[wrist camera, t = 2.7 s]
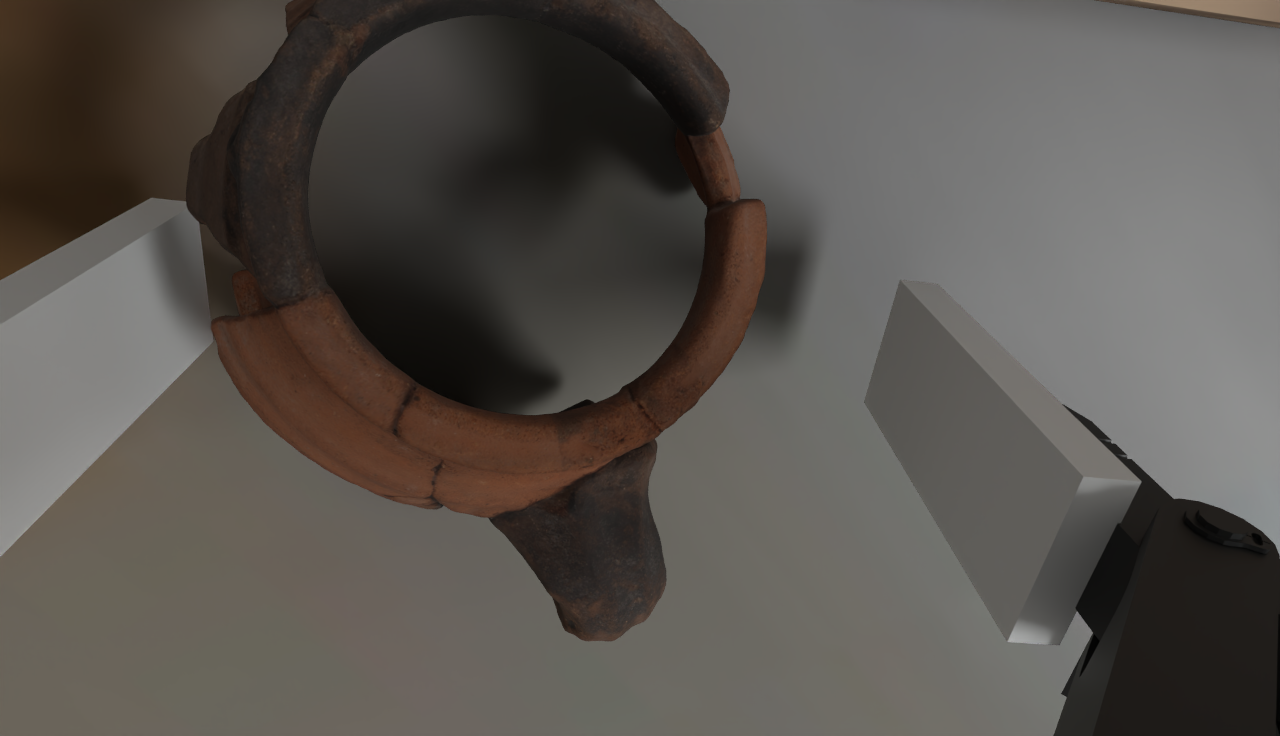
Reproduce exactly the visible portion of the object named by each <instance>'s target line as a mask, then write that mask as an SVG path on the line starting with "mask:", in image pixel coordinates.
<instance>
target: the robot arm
mask: <svg viewBox="0 0 1280 736" xmlns="http://www.w3.org/2000/svg"><path fill="white" fill-rule="evenodd" d="M212 342H213V333H212V331H211V317H210V308H209V300H208V292H207V284H206V276H205V267H204V259H203V251H202V243H201V235H200V227H199V222H198V221H197V220H196V219H195V218H194V217H193V216H192V215H191V214H190V212H189V211H188V209H187V205H186V201H177V200H168V199H158V198H150V199H148V200H146V201H145V202H143V203H141V204H139V205H137V206H135V207H134V208H132V209H130V210H128V211H126V212H124V213H123V214H121V215H119V216H117V217H115V218H113V219H112V220H110V221H108V222H106V223H104V224H102V225H101V226H99V227H97V228H95V229H93V230H92V231H90V232H88V233H86V234H84V235H82V236H81V237H79V238H77V239H75V240H73V241H71V242H70V243H68V244H66V245H64V246H62V247H60V248H59V249H57V250H55V251H53V252H51V253H49V254H48V255H46V256H44V257H42V258H40V259H38V260H37V261H35V262H33V263H31V264H29V265H28V266H26V267H24V268H22V269H20V270H18V271H17V272H15V273H13V274H11V275H9V276H7V277H6V278H4V279H2V280H0V557H1V556H2V555H3V554H4V553H5V552H6V551H7V550H8V549H9V548H10V547H11V546H12V545H13V543H14V542H15V541H16V540H17V539H18V538H19V537H20V536H21V535H22V534H23V533H24V532H25V531H26V530H27V529H28V528H29V527H30V526H31V525H32V524H33V523H34V522H35V521H36V520H37V519H38V518H39V517H40V516H41V515H42V514H43V513H44V512H45V511H46V510H47V509H48V508H49V507H50V506H51V505H52V504H53V503H54V502H55V501H56V500H57V499H58V498H59V497H60V496H61V495H62V494H63V493H64V492H65V491H66V490H67V489H68V488H69V487H70V486H71V485H72V484H73V483H74V482H75V481H76V480H77V479H78V478H79V477H80V476H81V475H82V474H83V473H84V472H85V471H86V470H87V469H88V468H89V467H90V466H91V465H92V464H93V463H94V462H95V461H96V460H97V459H98V458H99V457H100V456H101V455H102V454H103V453H104V452H105V451H106V450H107V449H108V448H109V447H110V446H111V444H112V443H113V442H114V441H115V440H116V439H117V438H118V437H119V436H120V435H121V434H122V433H123V432H124V431H125V430H126V429H127V428H128V427H129V426H130V425H131V424H132V423H133V422H134V421H135V420H136V419H137V418H138V417H139V416H140V415H141V414H142V413H143V412H144V411H145V410H146V409H147V408H148V407H149V406H150V405H151V404H152V403H153V402H154V401H155V400H156V399H157V398H158V397H159V396H160V395H161V394H162V393H163V392H164V391H165V390H166V389H167V388H168V387H169V386H170V385H171V384H172V383H173V382H174V381H175V380H176V379H177V378H178V377H179V376H180V375H181V374H182V373H183V372H184V371H185V370H186V369H187V368H188V367H189V366H190V365H191V364H192V363H193V362H194V361H195V360H196V359H197V358H198V357H199V356H200V355H201V354H202V353H203V352H204V351H205V350H206V349H207V348H208V346H209V345H210V344H211V343H212ZM864 403H865V404H866V406H867V408H868V409H869V411H870V413H871V414H872V416H873V418H874V419H875V421H876V423H877V424H878V426H879V428H880V430H881V431H882V433H883V435H884V436H885V438H886V440H887V441H888V443H889V445H890V446H891V448H892V450H893V451H894V453H895V455H896V456H897V458H898V460H899V461H900V463H901V465H902V466H903V468H904V470H905V471H906V473H907V475H908V476H909V478H910V480H911V481H912V483H913V485H914V486H915V488H916V490H917V492H918V493H919V495H920V497H921V498H922V500H923V502H924V503H925V505H926V507H927V508H928V510H929V512H930V513H931V515H932V517H933V518H934V520H935V522H936V523H937V525H938V527H939V528H940V530H941V532H942V533H943V535H944V537H945V538H946V540H947V542H948V543H949V545H950V547H951V549H952V550H953V552H954V554H955V555H956V557H957V559H958V560H959V562H960V564H961V565H962V567H963V569H964V570H965V572H966V574H967V575H968V577H969V579H970V580H971V582H972V584H973V585H974V587H975V589H976V590H977V592H978V594H979V595H980V597H981V599H982V600H983V602H984V604H985V606H986V607H987V609H988V611H989V612H990V614H991V616H992V617H993V619H994V621H995V622H996V624H997V626H998V627H999V629H1000V631H1001V632H1002V634H1003V636H1004V637H1005V639H1006V641H1007V642H1015V643H1031V644H1047V645H1060V643H1061V641H1062V639H1063V637H1064V635H1065V633H1066V631H1067V629H1068V628H1069V626H1070V624H1071V622H1072V620H1073V618H1074V616H1075V614H1076V612H1077V611H1078V613H1079V614H1080V615H1081V617H1082V618H1083V619H1084V621H1085V622H1086V624H1087V625H1088V626H1089V628H1090V629H1091V630H1092V632H1093V634H1092V636H1091V638H1090V640H1089V642H1088V644H1087V645H1086V647H1085V649H1084V651H1083V653H1082V655H1081V657H1080V659H1079V661H1078V663H1077V665H1076V666H1075V668H1074V670H1073V672H1072V674H1071V676H1070V678H1069V680H1068V682H1067V684H1066V686H1065V688H1064V689H1063V691H1062V693H1061V694H1062V695H1064V696H1066V697H1067V699H1066V702H1065V704H1064V707H1063V710H1062V713H1061V716H1060V719H1059V722H1058V724H1057V727H1056V730H1055V733H1054V736H1280V559H1279V558H1280V556H1279V553H1278V551H1277V548H1276V546H1275V544H1274V543H1273V542H1272V541H1271V540H1270V539H1269V538H1268V537H1267V536H1266V535H1265V534H1264V533H1263V532H1262V531H1260V530H1259V529H1257V528H1256V527H1254V526H1253V525H1251V524H1250V523H1248V522H1247V521H1245V520H1244V519H1242V518H1240V517H1238V516H1236V515H1234V514H1231V513H1229V512H1227V511H1225V510H1223V509H1221V508H1218V507H1215V506H1212V505H1209V504H1205V503H1202V502H1199V501H1193V500H1186V499H1173V498H1172V497H1171V496H1170V495H1169V494H1168V493H1167V492H1166V491H1165V490H1164V489H1162V488H1161V487H1160V486H1159V485H1158V484H1157V483H1156V482H1155V481H1154V480H1153V479H1152V478H1151V477H1150V476H1149V475H1148V474H1147V473H1146V472H1144V471H1143V470H1142V469H1141V468H1140V467H1139V466H1138V465H1137V464H1136V463H1135V462H1134V461H1133V460H1132V459H1127V455H1126V454H1125V453H1124V452H1123V451H1122V450H1121V449H1120V448H1119V447H1118V446H1117V445H1116V444H1112V443H1111V439H1110V438H1108V437H1107V436H1106V435H1105V434H1104V433H1103V432H1102V431H1101V430H1100V429H1099V428H1098V427H1097V426H1096V425H1095V424H1094V423H1093V422H1092V421H1090V420H1088V419H1087V418H1085V417H1083V416H1082V415H1080V414H1078V413H1077V412H1075V411H1073V410H1072V409H1070V408H1068V407H1067V406H1065V405H1063V404H1061V403H1060V402H1059V401H1058V400H1057V399H1056V398H1055V397H1054V396H1053V395H1052V394H1051V393H1050V392H1049V391H1048V390H1047V389H1046V388H1044V387H1043V386H1042V385H1041V384H1040V383H1039V382H1038V381H1037V380H1036V379H1035V378H1034V377H1033V376H1032V375H1031V374H1030V373H1029V372H1028V371H1027V370H1026V369H1025V368H1024V367H1023V366H1022V365H1021V364H1020V363H1019V362H1018V361H1017V360H1016V359H1015V358H1014V357H1012V356H1011V355H1010V354H1009V353H1008V352H1007V351H1006V350H1005V349H1004V348H1003V347H1002V346H1001V345H1000V344H999V343H998V342H997V341H996V340H995V339H994V338H993V337H992V336H991V335H990V334H989V333H988V332H987V331H986V330H985V329H984V328H983V327H981V326H980V325H979V324H978V323H977V322H976V321H975V320H974V319H973V318H972V317H971V316H970V315H969V314H968V313H967V312H966V311H965V310H964V309H963V308H962V307H961V306H960V305H959V304H958V303H957V302H956V301H955V300H954V299H953V298H952V297H951V296H949V295H948V294H947V293H946V292H945V291H944V290H943V289H942V288H941V287H940V286H939V285H938V284H934V283H925V282H916V281H907V280H900V282H899V285H898V289H897V292H896V295H895V299H894V302H893V306H892V309H891V312H890V316H889V319H888V322H887V326H886V329H885V333H884V336H883V339H882V343H881V346H880V350H879V353H878V356H877V360H876V363H875V366H874V370H873V373H872V377H871V380H870V383H869V387H868V390H867V393H866V397H865V400H864Z"/></svg>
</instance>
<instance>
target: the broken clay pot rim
mask: <svg viewBox="0 0 1280 736" xmlns="http://www.w3.org/2000/svg"><path fill="white" fill-rule="evenodd" d="M285 10H286V27H287V32H288V36H287V38H286V40H285V42H284V43H283V45H282V46H281V47H280V48H279V50H278V52H277V53H276V55H275V57H274V59H273V61H272V63H271V64H270V65H269V67H268V68H267V69H266V70H265V71H264V72H263V74H262V75H261V76H260V77H259V78H258V79H257V80H255V81H253V82H250V83H249V84H248V85H247V86H246V87H245V89H244V90H242V91H241V92H239V93H237V94H235V95H234V96H233V97H232V98H230V99H229V100H228V101H227V103H226V104H225V106H224V107H223V109H222V111H221V112H220V114H219V116H218V119H217V122H216V125H215V127H214V129H213V131H212V133H211V134H209V135H208V136H206V137H204V138H203V139H202V140H200V141H199V142H198V143H197V144H196V146H195V147H194V148H193V150H192V152H191V157H190V165H189V172H188V180H187V189H186V205H187V209H188V211H189V212H190V214H191V215H192V216H193V217H194V218H195V219H196V220H197V221H198V222H199V223H202V224H206V225H207V226H208V227H209V229H210V231H211V233H212V234H213V236H214V237H215V239H216V240H217V241H218V242H219V243H220V245H221V246H222V247H223V248H224V249H226V250H227V251H228V252H230V253H231V254H232V255H234V256H235V257H237V258H238V259H239V260H240V262H241V263H242V264H243V265H244V266H245V267H246V269H247V270H242V271H238V272H236V273H234V275H233V277H232V285H233V290H234V296H235V299H236V303H237V308H238V311H239V315H240V316H226V315H225V316H221V317H217V318H215V319H213V321H212V322H211V331H212V333H213V335H214V337H215V340H216V342H217V345H218V354H219V357H220V360H221V362H222V364H223V366H224V367H225V369H226V371H227V372H228V374H229V376H230V377H231V379H232V381H233V383H234V385H235V386H236V388H237V389H238V391H239V392H240V394H241V395H242V397H243V398H244V399H245V400H246V401H247V402H248V404H249V405H250V406H251V408H252V409H253V410H254V411H255V412H256V413H257V415H258V416H259V417H260V418H261V419H262V420H263V422H264V423H265V424H266V425H268V426H269V427H270V428H271V429H272V430H273V431H274V432H275V433H277V434H278V435H279V436H280V437H281V438H283V439H284V440H285V441H287V442H288V443H289V444H290V445H292V446H293V447H294V448H295V449H297V450H298V451H299V452H300V453H302V454H303V455H305V456H306V457H307V458H309V459H310V460H312V461H314V462H316V463H317V464H318V465H320V466H321V467H323V468H324V469H326V470H328V471H329V472H331V473H333V474H335V475H337V476H339V477H341V478H342V479H344V480H346V481H348V482H350V483H353V484H356V485H358V486H360V487H362V488H365V489H367V490H369V491H371V492H373V493H375V494H377V495H379V496H382V497H385V498H387V499H390V500H393V501H396V502H399V503H403V504H409V505H413V506H417V507H421V508H425V509H439V508H441V507H443V505H444V506H446V507H447V508H449V509H450V510H452V511H454V512H459V513H466V514H471V515H474V516H478V517H488V518H489V519H490V521H491V522H492V523H493V525H494V526H495V527H496V528H498V529H499V530H500V531H501V532H502V533H503V534H504V535H505V536H506V537H507V538H508V539H509V541H510V542H511V543H512V544H513V545H514V547H515V548H516V549H517V550H518V552H519V553H520V554H521V555H522V556H523V558H524V559H525V560H526V562H527V563H528V564H529V566H530V567H531V569H532V570H533V571H534V572H535V574H536V575H537V577H538V579H539V580H540V581H541V583H542V584H543V586H544V587H545V589H546V591H547V592H548V593H549V594H550V595H551V596H552V598H553V600H554V603H555V606H556V608H557V613H558V616H559V618H560V620H561V623H562V626H563V628H564V629H565V631H567V632H568V633H571V634H574V635H575V636H577V637H578V638H579V639H581V640H584V641H614V640H616V639H617V638H619V637H620V636H622V635H623V634H624V633H625V632H626V631H627V630H629V629H630V628H631V627H632V626H635V625H637V624H639V623H641V622H644V621H645V620H646V619H647V618H648V617H649V615H650V614H651V612H652V611H653V609H654V607H655V605H656V604H657V602H658V600H659V599H660V598H661V596H662V594H663V592H664V589H665V586H666V568H665V564H664V558H663V553H662V546H661V541H660V537H659V534H658V531H657V528H656V525H655V522H654V519H653V516H652V513H651V510H650V505H649V499H648V485H649V477H650V474H651V471H652V468H653V466H654V463H655V460H656V453H657V443H656V440H655V438H656V437H658V436H659V435H660V433H662V432H663V431H664V430H665V429H666V428H668V427H670V426H671V425H673V424H674V423H675V422H676V421H677V419H678V418H680V417H681V416H682V415H683V414H684V413H686V412H687V411H688V410H690V409H691V408H692V407H693V406H694V405H695V404H696V403H697V402H698V400H699V398H700V397H701V396H702V395H703V394H704V393H705V392H706V391H707V390H708V389H709V388H710V387H711V386H712V385H713V383H714V382H715V381H716V379H717V378H718V377H719V376H720V375H721V374H722V372H723V371H724V369H725V368H726V366H727V365H728V363H729V362H730V360H731V359H732V357H733V355H734V353H735V352H736V350H737V349H738V348H739V346H740V344H741V342H742V341H743V338H744V335H745V332H746V329H747V327H748V325H749V322H750V319H751V316H752V314H753V312H754V310H755V307H756V303H757V298H758V294H759V290H760V288H761V285H762V283H763V279H764V275H765V258H766V243H767V221H766V211H765V205H764V203H763V202H762V201H761V200H759V199H740V184H739V179H738V176H737V172H736V170H735V167H734V159H733V157H732V154H731V152H730V149H729V147H728V144H727V142H726V140H725V138H724V135H723V133H722V130H721V128H720V125H721V124H722V122H723V120H724V117H725V114H726V109H727V106H728V102H729V92H730V89H729V84H728V82H727V81H726V79H725V77H724V75H723V72H722V71H721V70H720V68H719V67H718V66H717V65H716V63H715V62H714V61H713V60H712V59H711V58H710V56H709V55H708V54H707V52H706V50H705V49H704V48H703V47H702V46H701V45H700V44H699V42H698V41H697V40H696V39H695V38H694V37H693V36H692V35H691V34H690V33H689V32H688V31H687V30H686V29H685V28H684V27H682V26H681V25H679V24H678V23H677V22H676V21H674V20H673V19H672V18H671V17H670V16H669V15H668V14H667V13H666V12H665V11H664V10H663V9H662V8H661V7H660V6H659V5H658V4H657V3H656V2H655V1H654V0H293V1H291V2H289V3H288V4H287V5H286V6H285ZM470 15H502V16H509V17H514V18H523V19H527V20H532V21H537V22H540V23H542V24H545V25H548V26H550V27H553V28H555V29H558V30H561V31H564V32H566V33H568V34H571V35H573V36H576V37H578V38H581V39H583V40H584V41H586V42H588V43H590V44H591V45H593V46H596V47H598V48H599V49H601V50H602V51H604V52H605V53H607V54H608V55H610V56H611V57H612V58H614V59H615V60H617V61H619V62H620V63H621V64H623V65H624V66H625V67H626V68H627V69H628V70H629V71H630V72H631V73H632V74H633V75H634V76H635V77H636V78H637V79H638V80H639V81H641V82H642V84H643V85H644V86H645V87H646V88H647V89H648V90H649V91H650V92H651V93H652V94H653V95H654V96H655V98H656V99H657V100H658V101H659V103H660V104H661V105H662V107H663V108H664V109H665V110H666V112H667V113H668V114H669V116H670V117H671V119H672V120H673V122H674V123H675V125H676V126H677V134H676V138H675V147H676V151H677V154H678V157H679V159H680V161H681V163H682V165H683V167H684V169H685V171H686V173H687V175H688V177H689V179H690V181H691V183H692V184H693V186H694V188H695V189H696V191H697V194H698V196H699V197H700V199H701V200H702V201H703V203H704V204H705V205H706V206H707V215H706V218H705V251H704V260H703V267H702V272H701V277H700V281H699V284H698V289H697V293H696V295H695V298H694V301H693V303H692V306H691V308H690V311H689V313H688V315H687V318H686V320H685V322H684V324H683V326H682V328H681V329H680V331H679V332H678V334H677V336H676V337H675V339H674V340H673V341H672V343H671V344H670V345H669V347H668V348H667V349H666V350H665V352H664V353H663V354H662V356H661V357H660V358H659V359H658V360H657V361H656V362H655V364H653V365H652V366H651V367H650V368H649V369H648V370H647V371H646V372H645V373H643V374H642V375H641V376H639V377H638V378H636V379H635V380H634V381H632V382H631V383H629V384H627V385H625V386H623V387H622V388H621V390H620V391H619V392H618V393H617V394H615V395H613V396H611V397H609V398H607V399H605V400H602V401H599V402H597V403H594V402H593V401H590V400H584V401H582V402H580V403H577V404H575V405H573V406H571V407H569V408H567V409H565V410H563V411H561V412H559V413H553V414H543V415H516V414H505V413H497V412H492V411H487V410H483V409H478V408H474V407H470V406H468V405H465V404H462V403H459V402H456V401H453V400H451V399H448V398H446V397H443V396H441V395H439V394H437V393H435V392H433V391H431V390H429V389H427V388H425V387H424V386H422V385H420V384H418V383H417V382H415V381H414V380H413V379H412V378H410V377H409V376H408V375H407V374H405V373H404V372H403V371H401V370H400V369H398V368H397V367H396V366H394V365H393V364H392V363H390V362H389V361H388V360H387V359H386V358H385V357H384V356H383V355H382V354H381V353H380V352H379V351H378V350H377V349H376V348H375V347H374V346H373V345H372V344H371V343H370V342H369V341H368V340H367V339H366V338H365V337H364V335H363V334H362V333H361V332H360V330H359V329H358V328H357V326H356V325H355V324H354V322H353V321H352V319H351V318H350V316H349V315H348V313H347V311H346V310H345V308H344V307H343V305H342V303H341V301H340V300H339V298H338V297H337V295H336V294H335V293H334V291H333V290H332V289H331V287H330V286H329V285H328V284H327V283H326V281H325V276H324V272H323V270H322V268H321V265H320V263H319V260H318V256H317V252H316V249H315V246H314V241H313V237H312V232H311V227H310V219H309V210H308V184H309V172H310V166H311V161H312V157H313V152H314V147H315V144H316V140H317V136H318V133H319V130H320V127H321V124H322V121H323V119H324V116H325V114H326V111H327V109H328V107H329V105H330V104H331V102H332V100H333V98H334V97H335V96H336V94H337V92H338V91H339V89H340V88H341V86H342V84H343V83H344V81H345V80H346V77H347V75H349V74H350V73H351V72H352V71H353V70H355V69H356V68H357V67H358V66H359V65H360V64H361V63H362V62H363V61H364V60H365V59H367V58H368V57H369V56H370V55H372V54H373V53H374V52H376V51H377V50H379V49H380V48H381V47H383V46H384V45H386V44H387V43H389V42H391V41H392V40H394V39H396V38H397V37H399V36H401V35H403V34H405V33H407V32H410V31H412V30H414V29H416V28H418V27H421V26H424V25H427V24H430V23H433V22H437V21H443V20H447V19H450V18H456V17H462V16H470Z"/></svg>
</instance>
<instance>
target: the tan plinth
mask: <svg viewBox="0 0 1280 736" xmlns="http://www.w3.org/2000/svg"><path fill="white" fill-rule="evenodd" d="M1096 1H1103V2H1110V3H1116V4H1123V5H1129V6H1136V7H1143V8H1149V9H1156V10H1163V11H1169V12H1176V13H1183V14H1189V15H1196V16H1202V17H1209V18H1216V19H1222V20H1229V21H1236V22H1242V23H1249V24H1256V25H1262V26H1269V27H1275V28H1280V0H1096Z"/></svg>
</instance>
